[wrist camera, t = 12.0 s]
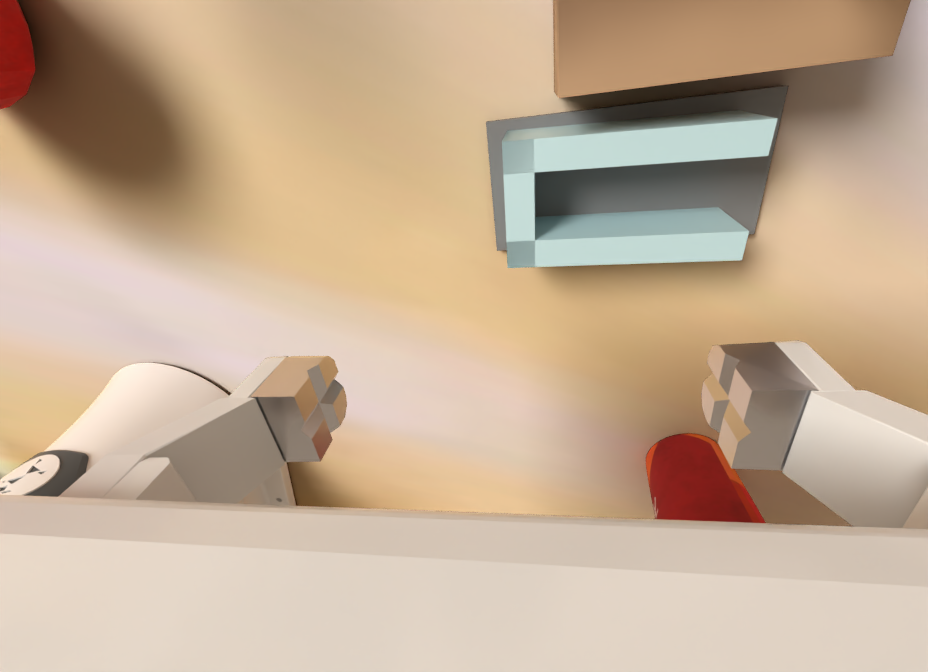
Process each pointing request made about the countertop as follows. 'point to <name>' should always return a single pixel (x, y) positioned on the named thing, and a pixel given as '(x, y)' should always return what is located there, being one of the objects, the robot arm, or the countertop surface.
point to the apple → (14, 54)
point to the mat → (645, 166)
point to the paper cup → (696, 482)
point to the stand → (711, 39)
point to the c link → (626, 232)
